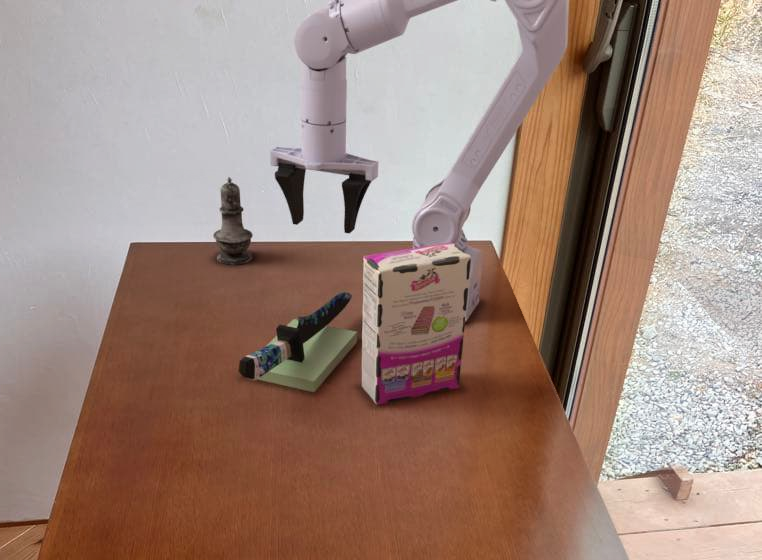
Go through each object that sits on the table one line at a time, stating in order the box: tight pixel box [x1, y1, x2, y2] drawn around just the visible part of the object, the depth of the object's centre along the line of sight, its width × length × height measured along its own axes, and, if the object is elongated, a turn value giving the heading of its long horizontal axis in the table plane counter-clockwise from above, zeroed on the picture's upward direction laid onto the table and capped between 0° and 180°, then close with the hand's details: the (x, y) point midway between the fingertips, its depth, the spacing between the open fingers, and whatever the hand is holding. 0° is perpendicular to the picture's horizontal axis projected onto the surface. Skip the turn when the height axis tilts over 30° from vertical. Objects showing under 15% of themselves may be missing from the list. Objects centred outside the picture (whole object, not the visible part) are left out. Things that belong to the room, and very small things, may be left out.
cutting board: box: [256, 318, 358, 393], centre depth 111 cm, size 9×14×2 cm, turn 159°
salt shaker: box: [212, 176, 254, 266], centre depth 131 cm, size 6×6×12 cm
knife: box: [237, 291, 352, 382], centre depth 109 cm, size 31×3×4 cm, turn 154°
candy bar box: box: [361, 242, 471, 406], centre depth 101 cm, size 11×5×16 cm, turn 114°
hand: (323, 226), depth 121 cm, fingers open, 7 cm apart
